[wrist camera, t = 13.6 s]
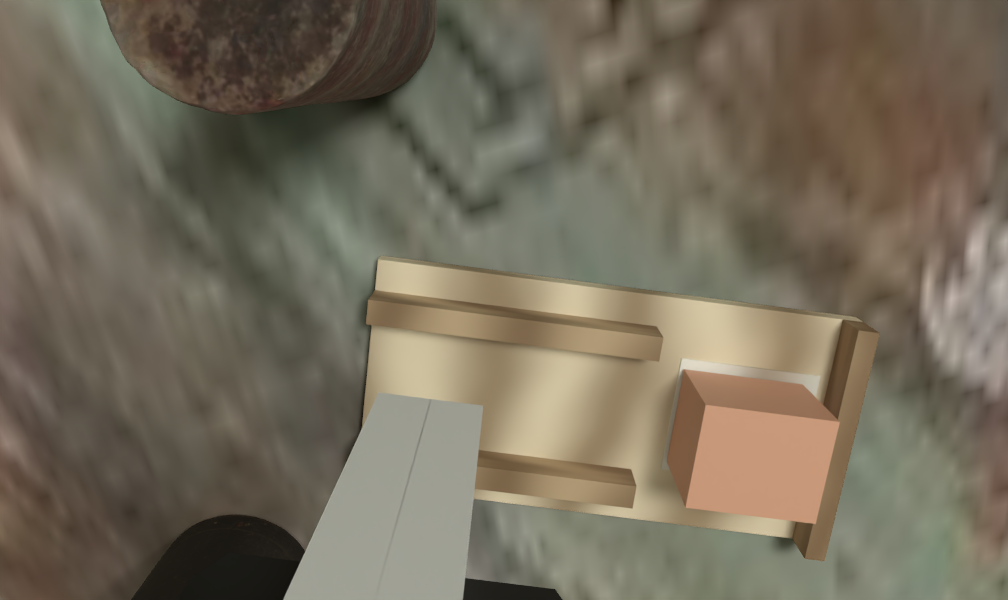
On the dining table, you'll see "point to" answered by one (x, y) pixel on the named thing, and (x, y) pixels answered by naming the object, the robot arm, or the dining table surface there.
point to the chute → (601, 382)
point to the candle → (272, 49)
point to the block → (751, 446)
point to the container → (215, 552)
